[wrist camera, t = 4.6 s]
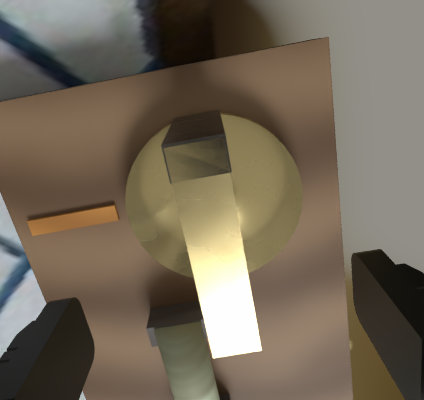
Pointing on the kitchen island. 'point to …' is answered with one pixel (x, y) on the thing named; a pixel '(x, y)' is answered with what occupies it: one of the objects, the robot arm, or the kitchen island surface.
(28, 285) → the kitchen island surface
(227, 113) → the wing knob
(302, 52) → the knob and handle board
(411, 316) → the robot arm
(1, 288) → the kitchen island surface
